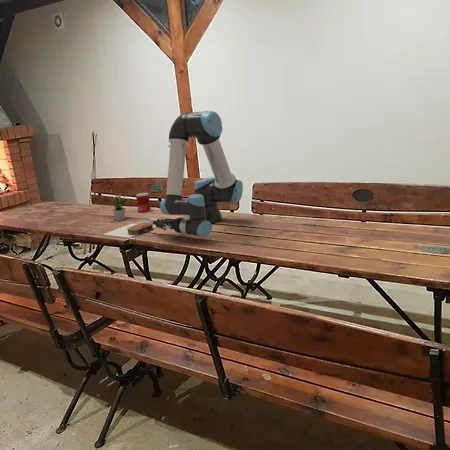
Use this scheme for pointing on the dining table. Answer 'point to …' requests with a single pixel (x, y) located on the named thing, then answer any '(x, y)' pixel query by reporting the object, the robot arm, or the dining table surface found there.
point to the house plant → (118, 207)
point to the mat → (122, 232)
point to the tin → (140, 228)
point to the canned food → (143, 202)
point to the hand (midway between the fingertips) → (150, 221)
